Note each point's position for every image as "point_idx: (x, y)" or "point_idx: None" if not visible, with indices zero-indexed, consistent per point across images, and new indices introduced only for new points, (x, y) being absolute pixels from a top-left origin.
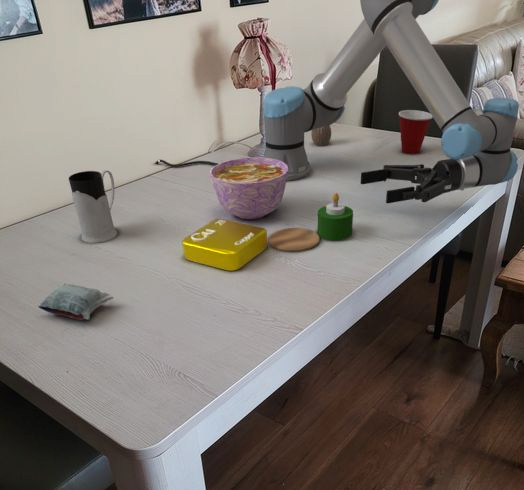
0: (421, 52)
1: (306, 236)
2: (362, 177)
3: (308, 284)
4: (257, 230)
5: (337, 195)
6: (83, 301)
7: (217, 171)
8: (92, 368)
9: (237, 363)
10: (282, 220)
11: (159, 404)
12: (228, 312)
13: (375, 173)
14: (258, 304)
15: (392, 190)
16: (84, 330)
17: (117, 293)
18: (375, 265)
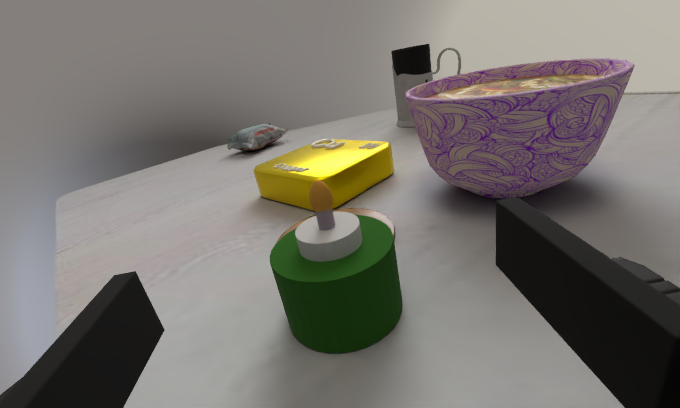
0: None
1: None
2: (496, 226)
3: (148, 259)
4: (317, 172)
5: (311, 190)
6: (236, 135)
7: (524, 76)
8: (171, 167)
9: (77, 217)
10: (460, 220)
11: (90, 194)
12: (168, 204)
13: (562, 268)
14: (157, 220)
15: (106, 295)
16: (226, 155)
17: (274, 152)
18: None
